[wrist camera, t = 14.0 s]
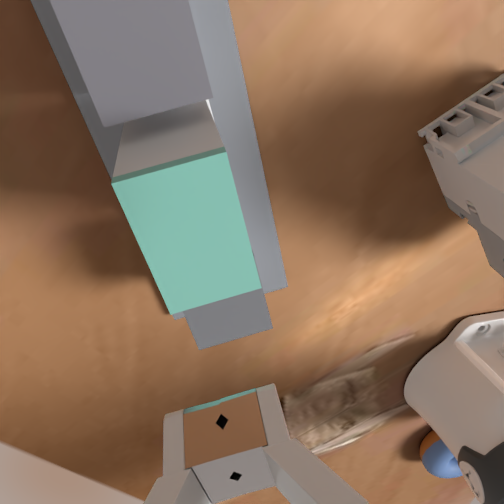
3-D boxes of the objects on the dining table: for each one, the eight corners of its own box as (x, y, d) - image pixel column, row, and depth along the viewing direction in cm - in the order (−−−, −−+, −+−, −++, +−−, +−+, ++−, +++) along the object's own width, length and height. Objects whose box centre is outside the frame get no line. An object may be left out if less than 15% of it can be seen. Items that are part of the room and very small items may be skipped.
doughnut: (416, 467, 60) (436, 498, 56) (410, 428, 54) (432, 459, 51) (476, 439, 61) (500, 467, 57) (477, 397, 55) (503, 425, 51)
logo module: (202, 91, 24) (226, 151, 16) (230, 196, 28) (261, 287, 20) (126, 112, 24) (111, 183, 16) (166, 214, 28) (170, 314, 20)
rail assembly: (192, -158, 20) (211, -227, 13) (285, 281, 36) (315, 352, 29) (-14, -107, 19) (-104, -150, 13) (174, 313, 36) (178, 393, 29)
